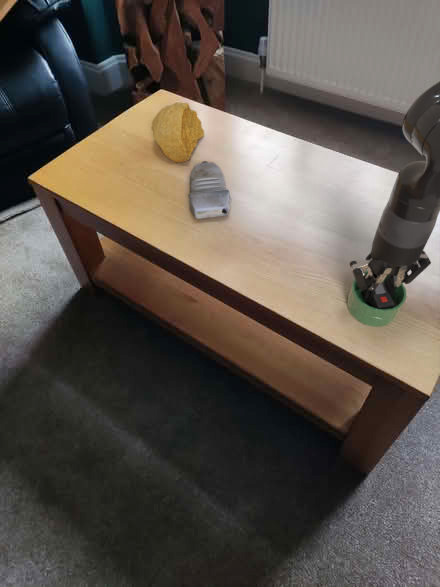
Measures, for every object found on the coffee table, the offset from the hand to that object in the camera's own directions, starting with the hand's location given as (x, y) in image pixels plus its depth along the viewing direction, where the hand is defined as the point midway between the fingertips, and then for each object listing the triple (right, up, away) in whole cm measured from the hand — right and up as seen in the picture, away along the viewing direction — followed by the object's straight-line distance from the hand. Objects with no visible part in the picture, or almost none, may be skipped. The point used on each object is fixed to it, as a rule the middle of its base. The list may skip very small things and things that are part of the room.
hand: (376, 296), depth 79 cm
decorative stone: (-40, +40, +37) cm, 67 cm away
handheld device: (-32, +25, +24) cm, 47 cm away
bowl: (0, -2, +2) cm, 3 cm away
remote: (0, 0, 0) cm, 0 cm away
